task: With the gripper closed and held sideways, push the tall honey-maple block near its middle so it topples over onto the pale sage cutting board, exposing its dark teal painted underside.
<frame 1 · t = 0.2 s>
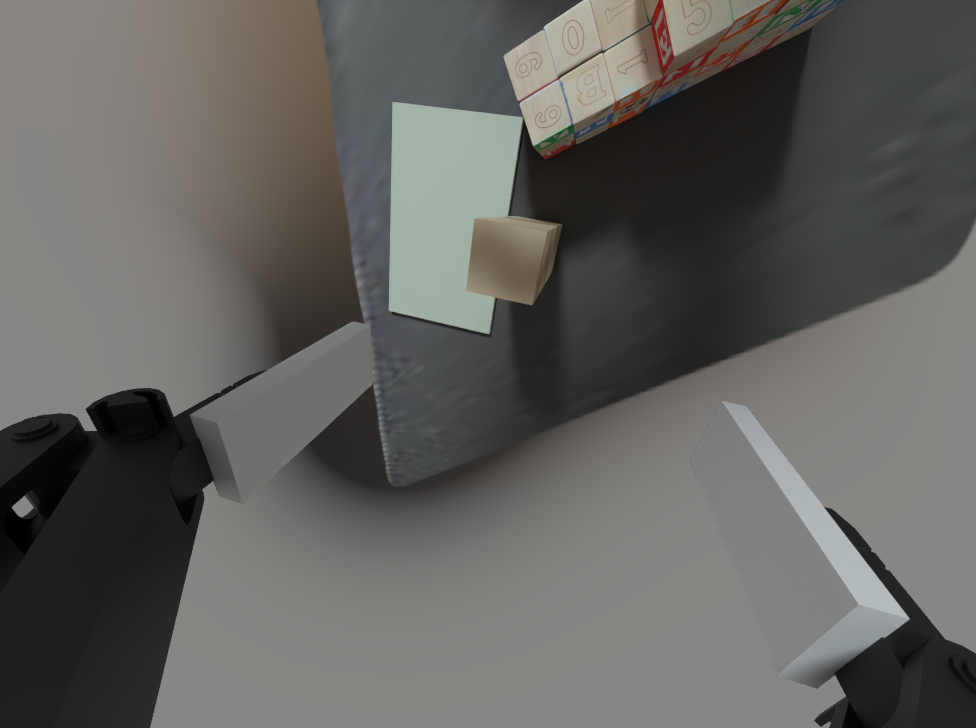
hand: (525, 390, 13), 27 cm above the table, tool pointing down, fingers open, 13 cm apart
sage cutting board: (447, 228, 39), on the table
maple block: (534, 244, 37), on the table
stack of blocks: (652, 64, 29), on the table
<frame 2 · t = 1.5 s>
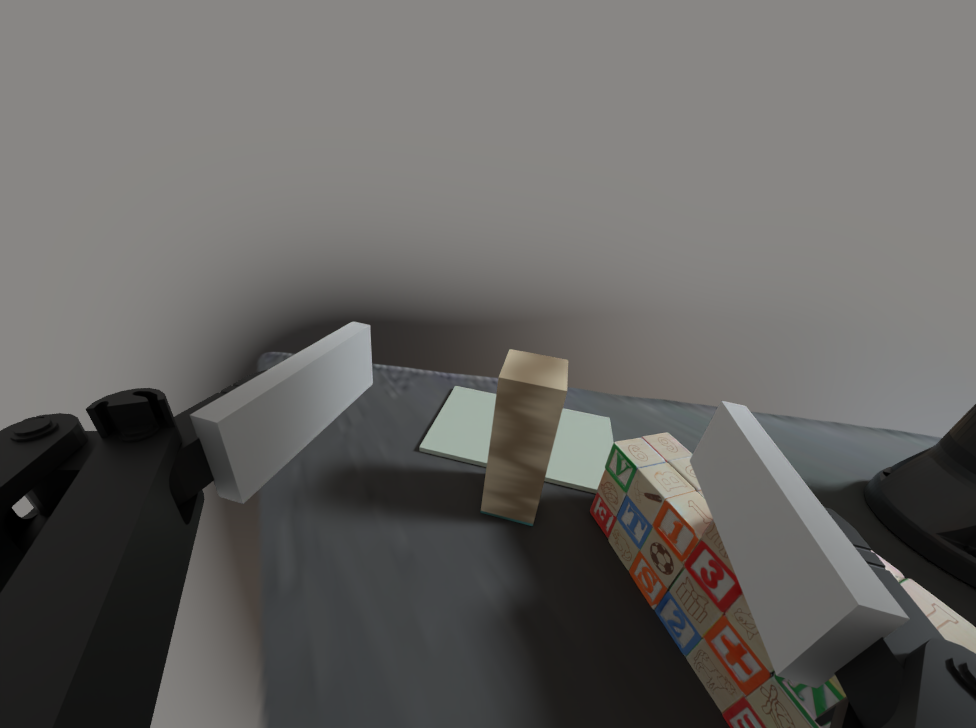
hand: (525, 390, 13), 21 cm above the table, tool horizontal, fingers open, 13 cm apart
sage cutting board: (523, 434, 43), on the table
maple block: (510, 498, 34), on the table
stack of blocks: (697, 622, 26), on the table
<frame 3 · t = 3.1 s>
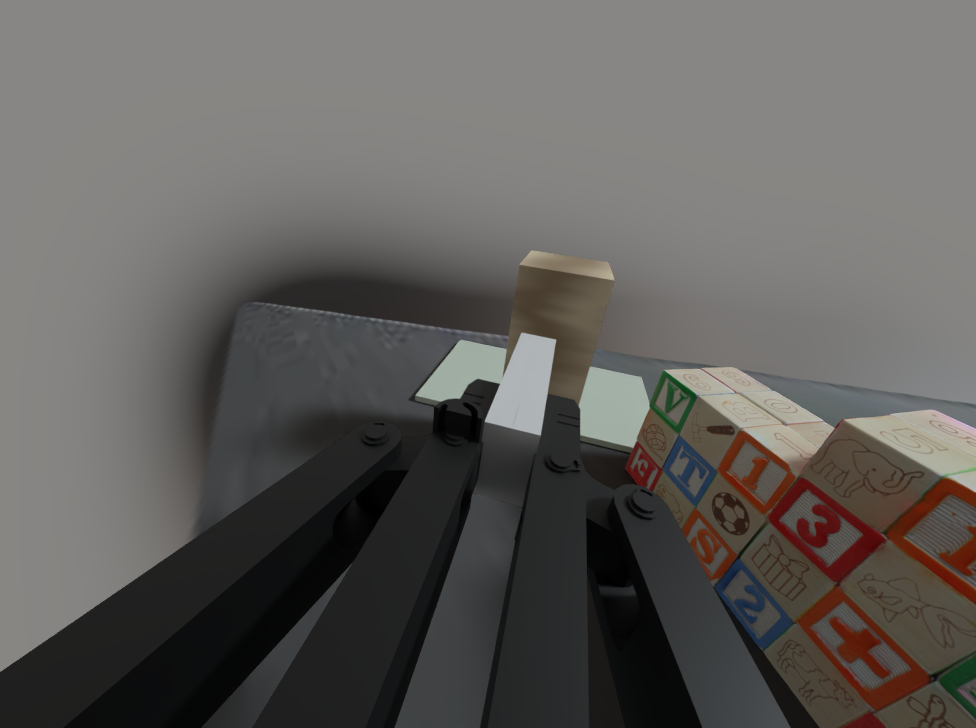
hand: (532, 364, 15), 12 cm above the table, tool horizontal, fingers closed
sage cutting board: (540, 390, 36), on the table
maple block: (526, 454, 27), on the table
stack of blocks: (775, 609, 19), on the table
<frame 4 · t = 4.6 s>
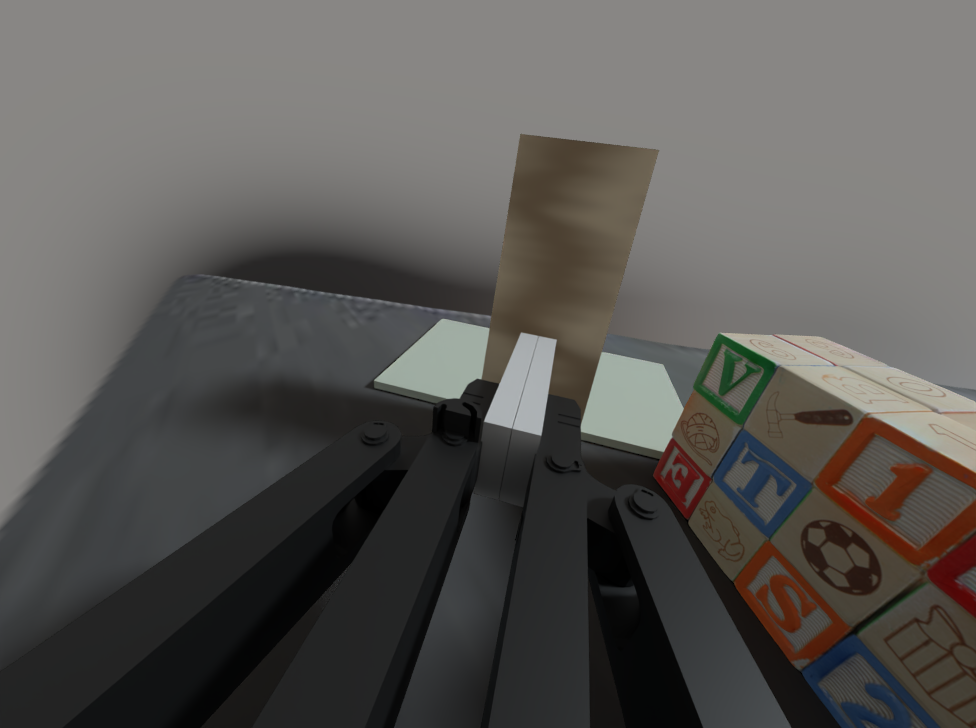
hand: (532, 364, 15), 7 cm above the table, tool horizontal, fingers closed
sage cutting board: (538, 377, 28), on the table
maple block: (520, 449, 20), on the table, tilted 8°, touching gripper
stack of blocks: (905, 718, 12), on the table
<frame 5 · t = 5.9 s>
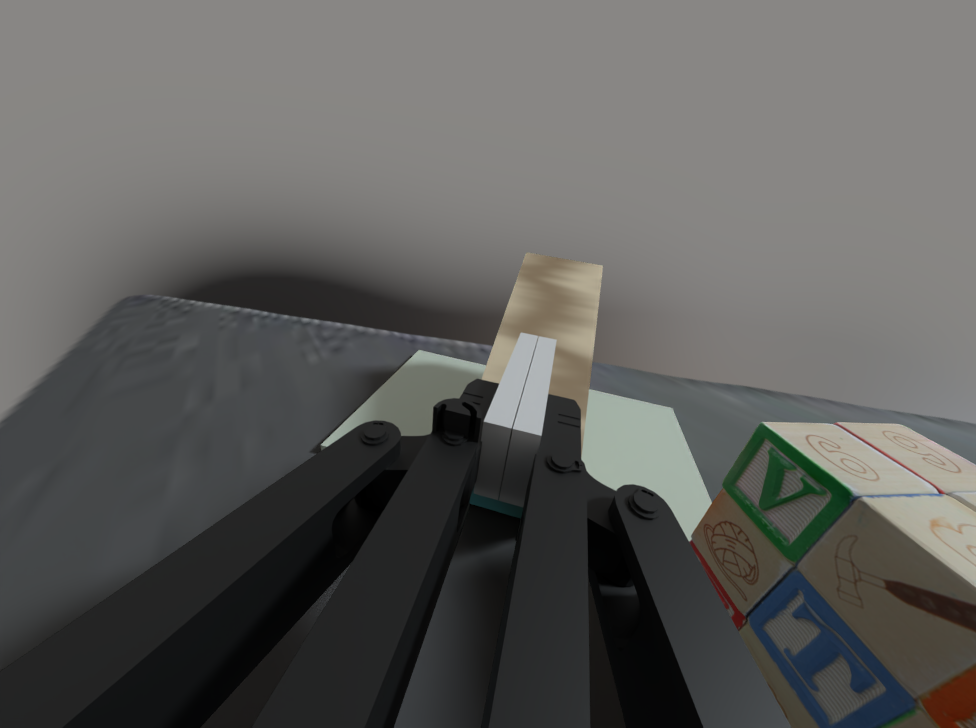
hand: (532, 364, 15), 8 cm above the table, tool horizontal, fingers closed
sage cutting board: (525, 430, 24), on the table
maple block: (508, 498, 15), point 3 cm above the table, tilted 66°, touching gripper, sage cutting board
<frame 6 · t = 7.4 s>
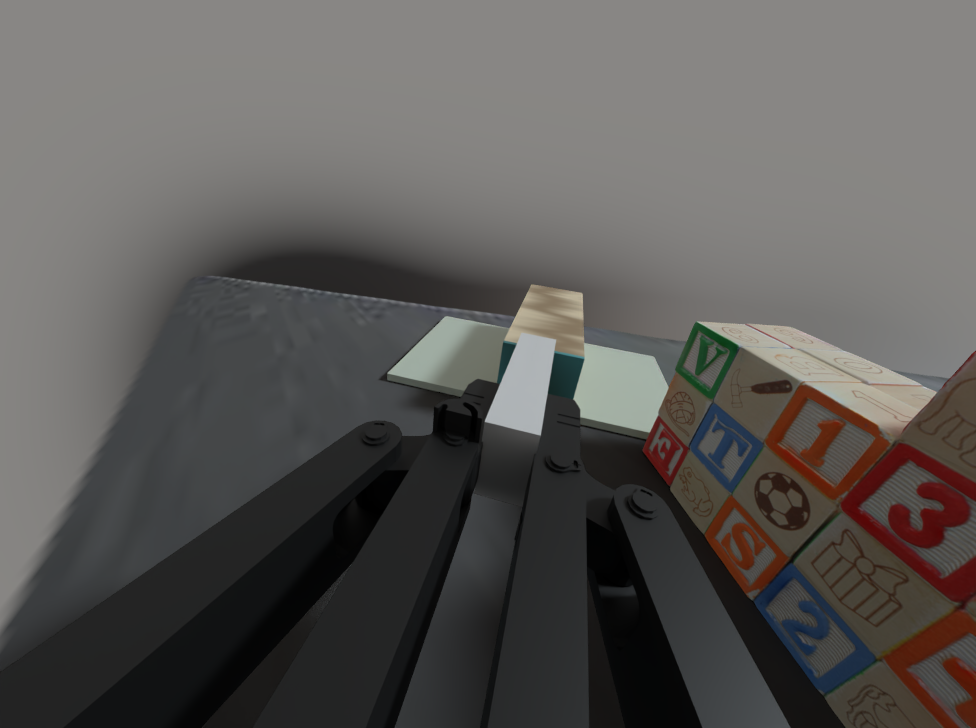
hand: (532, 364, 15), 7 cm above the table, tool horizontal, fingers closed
sage cutting board: (538, 369, 30), on the table
maple block: (535, 385, 22), point 3 cm above the table, tilted 90°, touching sage cutting board
stack of blocks: (840, 640, 14), on the table
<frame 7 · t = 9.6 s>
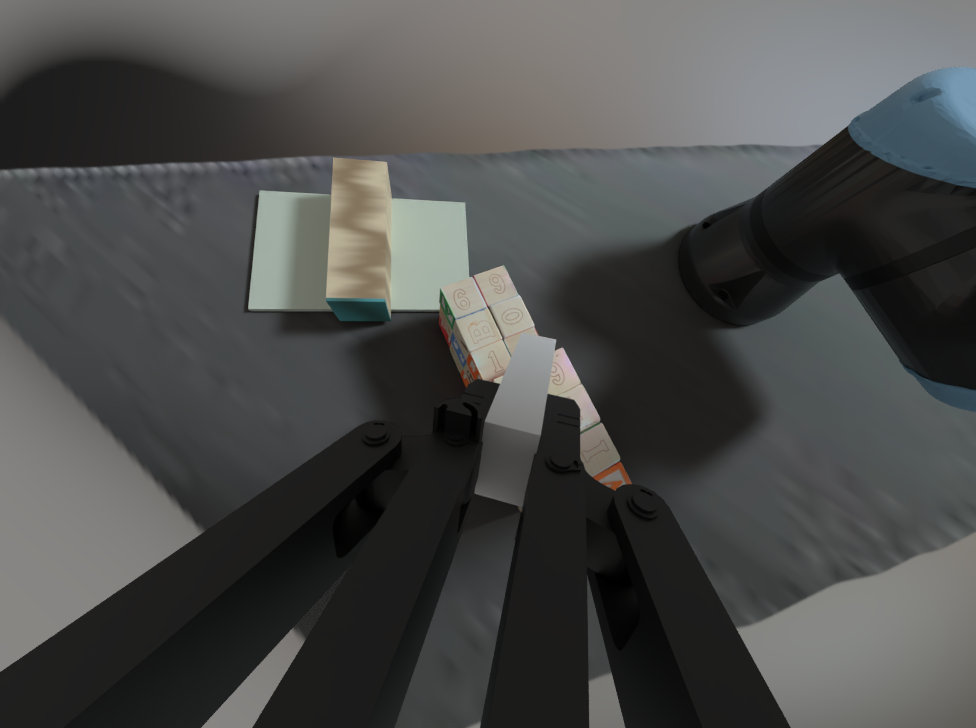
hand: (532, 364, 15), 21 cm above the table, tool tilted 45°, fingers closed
sage cutting board: (367, 253, 38), on the table
maple block: (361, 311, 33), point 3 cm above the table, tilted 90°, touching sage cutting board
stack of blocks: (502, 402, 37), on the table
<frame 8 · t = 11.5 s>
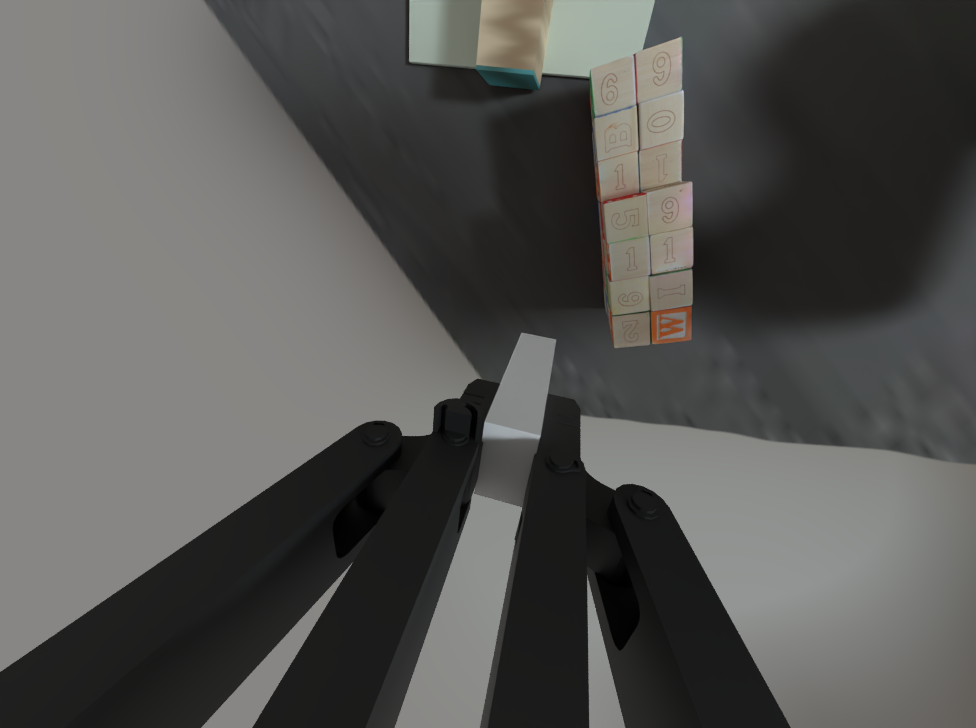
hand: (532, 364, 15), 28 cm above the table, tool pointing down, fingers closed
maple block: (509, 80, 31), point 3 cm above the table, tilted 90°, touching sage cutting board
stack of blocks: (627, 208, 36), on the table
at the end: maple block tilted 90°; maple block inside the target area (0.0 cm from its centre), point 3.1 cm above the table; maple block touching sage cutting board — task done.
